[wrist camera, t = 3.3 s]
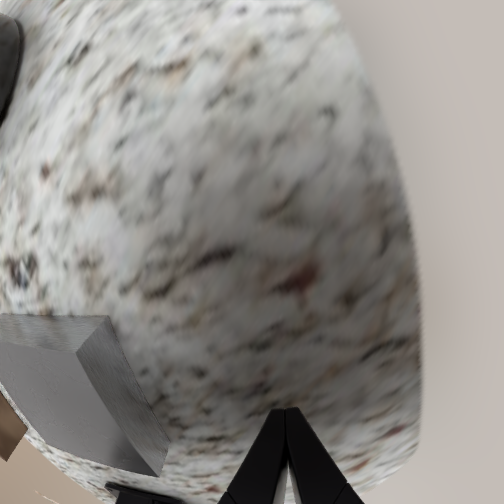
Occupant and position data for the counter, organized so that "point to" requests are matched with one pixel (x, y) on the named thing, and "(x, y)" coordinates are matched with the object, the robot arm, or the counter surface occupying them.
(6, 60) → the supplement bottle
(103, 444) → the grey metal plate
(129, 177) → the counter surface
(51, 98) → the counter surface
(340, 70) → the counter surface
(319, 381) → the counter surface
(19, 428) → the curved brown bar
